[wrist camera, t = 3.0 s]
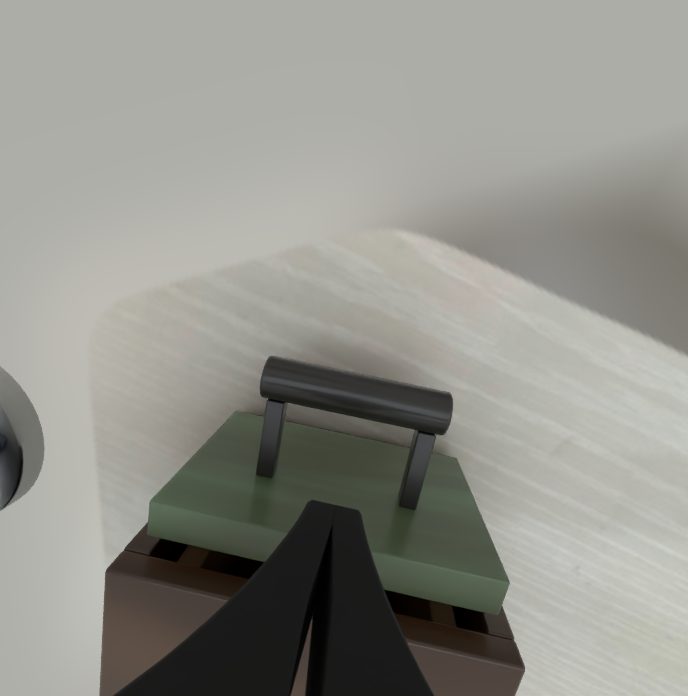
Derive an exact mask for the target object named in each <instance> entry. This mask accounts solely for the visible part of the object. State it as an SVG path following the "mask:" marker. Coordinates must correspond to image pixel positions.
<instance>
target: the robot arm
mask: <svg viewBox="0 0 688 696" xmlns="http://www.w3.org/2000/svg"><path fill="white" fill-rule="evenodd" d="M5 445H6V438H5V436H4V435H2V434H1V433H0V453H1V451H2V450H3V448H4V447H5ZM312 616H313V619H312ZM311 619H312V629H311V639H310V649H309V659H308V669H307V680H306V690H305V696H435V695H434V694H433V692H432V690H431V688H430V686H429V684H428V683H427V681H426V679H425V677H424V675H423V673H422V671H421V669H420V668H419V666H418V664H417V662H416V660H415V658H414V656H413V654H412V652H411V650H410V648H409V646H408V644H407V641H406V639H405V637H404V635H403V633H402V631H401V629H400V626H399V624H398V622H397V620H396V617H395V615H394V613H393V610H392V608H391V606H390V603H389V601H388V598H387V596H386V593H385V591H384V588H383V585H382V583H381V580H380V577H379V574H378V572H377V569H376V566H375V563H374V560H373V557H372V554H371V551H370V547H369V544H368V541H367V537H366V533H365V529H364V525H363V520H362V515H361V513H360V511H359V510H356V509H352V508H347V507H343V506H338V505H334V504H330V503H325V502H321V501H316V500H310V501H309V502H307V504H306V506H305V508H304V510H303V511H302V513H301V515H300V516H299V518H298V520H297V521H296V523H295V524H294V525H293V527H292V528H291V530H290V531H289V532H288V534H287V535H286V536H285V538H284V539H283V540H282V541H281V543H280V544H279V545H278V547H277V548H276V549H275V550H274V552H273V553H272V554H271V555H270V556H269V558H268V559H267V560H266V561H265V562H264V563H263V564H262V566H261V567H260V568H259V569H258V570H257V571H256V572H255V573H254V574H253V575H252V577H251V578H250V579H249V580H248V581H247V582H246V583H245V584H244V585H243V586H242V587H241V588H240V589H239V590H238V591H237V592H236V593H235V594H234V595H233V596H232V597H231V598H230V599H229V600H228V601H227V602H226V603H225V604H224V605H223V606H222V607H221V608H220V609H219V610H218V611H217V612H216V613H215V614H214V615H213V616H211V617H210V618H209V619H208V620H207V621H206V622H205V623H204V624H202V625H201V626H200V627H199V628H198V629H197V630H196V631H194V632H193V633H192V634H191V635H190V636H189V637H187V638H186V639H185V640H184V641H183V642H182V643H180V644H179V645H178V646H177V647H176V648H175V649H173V650H172V651H171V652H170V653H168V654H167V655H166V656H165V657H163V658H162V659H161V660H160V661H158V662H157V663H156V664H155V665H153V666H152V667H151V668H149V669H148V670H147V671H145V672H144V673H143V674H141V675H140V676H139V677H137V678H136V679H135V680H133V681H132V682H130V683H129V684H128V685H126V686H125V687H124V688H122V689H121V690H120V691H118V692H117V693H116V694H114V695H113V696H291V693H292V690H293V686H294V682H295V678H296V675H297V671H298V667H299V664H300V660H301V656H302V653H303V649H304V645H305V642H306V638H307V634H308V631H309V627H310V623H311Z"/></svg>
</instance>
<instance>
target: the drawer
mask: <svg viewBox="0 0 688 696" xmlns="http://www.w3.org/2000/svg"><path fill="white" fill-rule="evenodd" d="M260 395H261V396H262V397H264V398H268V400H267V403H266V409H265V416H264V417H263V416H259V415H254V414H249V413H245V412H240V411H236V412H235V413H234V414H233V415H232V416H231V417H230V418H229V419H228V420H227V421H226V422H225V423H224V424H223V425H222V426H221V427H220V429H219V430H218V431H217V432H216V433H215V434H214V435H213V436H212V437H211V438H210V439H209V440H208V441H207V442H206V443H205V444H204V445H203V446H202V447H201V448H200V449H199V450H198V451H197V453H196V454H195V455H194V456H193V457H192V458H191V459H190V460H189V461H188V462H187V463H186V464H185V465H184V466H183V467H182V468H181V469H180V470H179V471H178V472H177V473H176V474H175V475H174V477H173V478H172V479H171V480H170V481H169V482H168V483H167V484H166V485H165V486H164V487H163V488H162V489H161V490H160V491H159V492H158V493H157V494H156V495H155V496H154V497H153V498H152V500H151V501H150V505H149V518H148V531H147V535H149V536H152V537H157V538H161V539H166V540H170V541H174V542H179V543H183V544H187V545H188V546H187V548H186V549H185V551H184V552H183V554H182V555H181V557H180V558H179V560H178V561H177V563H182V564H186V565H190V566H195V567H199V568H203V569H207V570H212V571H216V572H220V573H225V574H229V575H233V576H238V577H242V578H246V579H250V578H251V577H252V575H253V574H254V573H255V572H256V571H257V570H258V569H259V568H260V567H261V566H262V564H263V563H264V562H265V561H266V560H267V559H268V558H269V556H270V555H271V554H272V553H273V552H274V550H275V549H276V548H277V547H278V545H279V544H280V543H281V541H282V540H283V539H284V538H285V536H286V535H287V534H288V532H289V531H290V530H291V528H292V527H293V525H294V524H295V523H296V521H297V520H298V518H299V516H300V515H301V513H302V511H303V510H304V508H305V506H306V504H307V502H309V501H310V500H316V501H321V502H325V503H330V504H334V505H338V506H343V507H347V508H352V509H356V510H359V511H360V513H361V515H362V520H363V525H364V529H365V533H366V537H367V541H368V544H369V547H370V551H371V554H372V557H373V560H374V563H375V566H376V569H377V572H378V574H379V577H380V580H381V583H382V585H383V588H384V591H385V593H386V596H387V598H388V601H389V603H390V606H391V608H392V610H393V613H397V614H402V615H406V616H410V617H414V618H419V619H423V620H427V621H432V622H436V623H440V624H445V625H449V626H453V627H457V626H456V622H455V617H454V613H453V608H452V605H453V606H457V607H462V608H466V609H470V610H475V611H479V612H483V613H488V614H492V615H496V616H497V615H499V612H500V609H501V606H502V603H503V601H504V598H505V595H506V592H507V590H508V587H509V584H510V582H509V579H508V577H507V575H506V572H505V570H504V568H503V565H502V563H501V561H500V558H499V556H498V554H497V551H496V549H495V547H494V544H493V542H492V540H491V537H490V535H489V533H488V530H487V528H486V526H485V523H484V521H483V519H482V516H481V514H480V512H479V509H478V507H477V505H476V502H475V500H474V498H473V495H472V493H471V491H470V488H469V486H468V484H467V481H466V479H465V477H464V474H463V472H462V470H461V467H460V465H459V463H458V460H457V458H454V457H450V456H445V455H440V454H436V453H432V449H433V446H434V442H435V438H436V436H435V434H438V435H444V434H445V433H446V431H447V430H448V427H449V425H450V422H451V417H452V411H453V399H452V395H451V393H449V392H445V391H440V390H436V389H431V388H426V387H421V386H416V385H412V384H407V383H402V382H397V381H392V380H388V379H383V378H378V377H373V376H368V375H364V374H359V373H354V372H349V371H344V370H340V369H335V368H330V367H325V366H320V365H316V364H311V363H306V362H301V361H296V360H292V359H287V358H282V357H277V356H270V357H269V358H268V360H267V361H266V363H265V366H264V369H263V372H262V376H261V381H260ZM287 403H292V404H297V405H301V406H306V407H311V408H315V409H320V410H325V411H329V412H334V413H339V414H344V415H348V416H353V417H358V418H362V419H367V420H372V421H376V422H381V423H386V424H391V425H395V426H400V427H405V428H409V429H414V430H415V432H414V436H413V440H412V443H411V447H410V448H408V447H403V446H398V445H394V444H389V443H384V442H380V441H375V440H370V439H366V438H361V437H356V436H352V435H347V434H342V433H338V432H333V431H329V430H324V429H319V428H315V427H310V426H305V425H301V424H296V423H291V422H287V421H285V415H286V409H287Z"/></svg>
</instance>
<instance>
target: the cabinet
mask: <svg viewBox="0 0 688 696" xmlns="http://www.w3.org/2000/svg"><path fill="white" fill-rule="evenodd" d="M147 531H148V522H147V524H146V525H145V526H144V527H143V528H142V529H141V530H140V531H139V533H138V534H137V535H136V536H135V537H134V538H133V539H132V541H131V542H130V543H129V544H128V545H127V546H126V547H125V549H124V551H123V552H121V554H120V555H119V556H118V557H117V558H116V559H115V560H114V562H113V563H112V564H111V565H110V566H109V567H108V568H107V570H106V572H105V592H104V613H103V614H104V615H103V634H102V654H101V675H100V696H113V695H114V694H116V693H117V692H118V691H120V690H121V689H122V688H124V687H125V686H126V685H128V684H129V683H130V682H132V681H133V680H135V679H136V678H137V677H139V676H140V675H141V674H143V673H144V672H145V671H147V670H148V669H149V668H151V667H152V666H153V665H155V664H156V663H157V662H158V661H160V660H161V659H162V658H163V657H165V656H166V655H167V654H168V653H170V652H171V651H172V650H173V649H175V648H176V647H177V646H178V645H179V644H180V643H182V642H183V641H184V640H185V639H186V638H187V637H189V636H190V635H191V634H192V633H193V632H194V631H196V630H197V629H198V628H199V627H200V626H201V625H202V624H204V623H205V622H206V621H207V620H208V619H209V618H210V617H211V616H213V615H214V614H215V613H216V612H217V611H218V610H219V609H220V608H221V607H222V606H223V605H224V604H225V603H226V602H227V601H228V600H229V599H230V598H231V597H232V596H233V595H234V594H235V593H236V592H237V591H238V590H239V589H240V588H241V587H242V586H243V585H244V584H245V583H246V582H247V581H248V580H249V579H246V578H242V577H238V576H233V575H229V574H225V573H220V572H216V571H212V570H207V569H203V568H199V567H195V566H190V565H186V564H182V563H177V561H178V560H179V558H180V557H181V555H182V554H183V552H184V551H185V549H186V548H187V546H188V545H187V544H183V543H179V542H174V541H170V540H166V539H161V538H157V537H152V536H149V535H147ZM452 608H453V613H454V617H455V622H456V626H457V627H453V626H449V625H445V624H440V623H436V622H432V621H427V620H423V619H419V618H414V617H410V616H406V615H402V614H397V613H394V615H395V617H396V620H397V622H398V624H399V626H400V629H401V631H402V633H403V635H404V637H405V639H406V641H407V644H408V646H409V648H410V650H411V652H412V654H413V656H414V658H415V660H416V662H417V664H418V666H419V668H420V669H421V671H422V673H423V675H424V677H425V679H426V681H427V683H428V684H429V686H430V688H431V690H432V692H433V694H434V695H435V696H515V694H516V692H517V689H518V687H519V684H520V682H521V679H522V677H523V674H524V672H525V666H524V663H523V661H522V658H521V655H520V653H519V650H518V647H517V645H516V643H515V641H514V636H513V633H512V630H511V628H510V625H509V623H508V620H507V617H506V615H505V612H504V609H503V607H502V606H501V609H500V612H499V615H497V616H496V615H492V614H488V613H483V612H479V611H475V610H470V609H466V608H462V607H457V606H453V605H452ZM312 619H313V616H312ZM312 619H311V623H310V627H309V631H308V634H307V638H306V642H305V645H304V649H303V653H302V656H301V660H300V664H299V667H298V671H297V675H296V678H295V682H294V686H293V690H292V693H291V696H305V690H306V680H307V669H308V659H309V649H310V639H311V629H312Z"/></svg>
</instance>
